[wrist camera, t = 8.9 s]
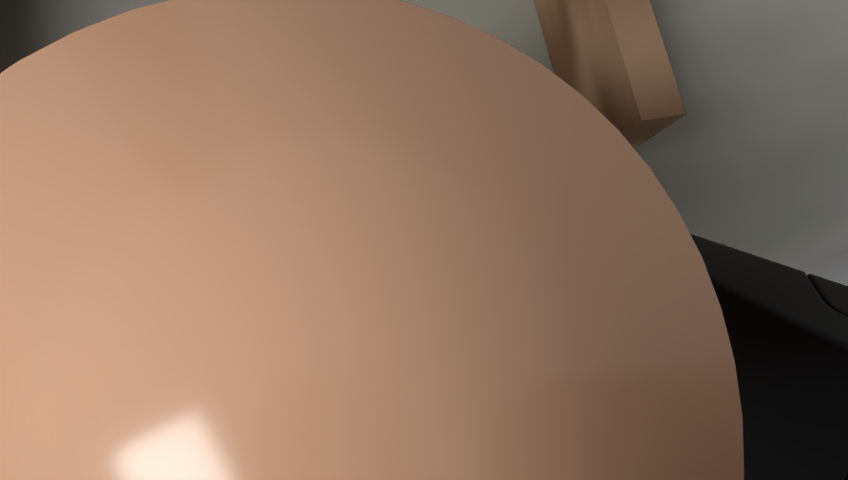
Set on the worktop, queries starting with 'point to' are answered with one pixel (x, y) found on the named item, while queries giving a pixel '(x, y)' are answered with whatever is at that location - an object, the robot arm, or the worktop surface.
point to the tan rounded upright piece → (340, 261)
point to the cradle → (614, 61)
